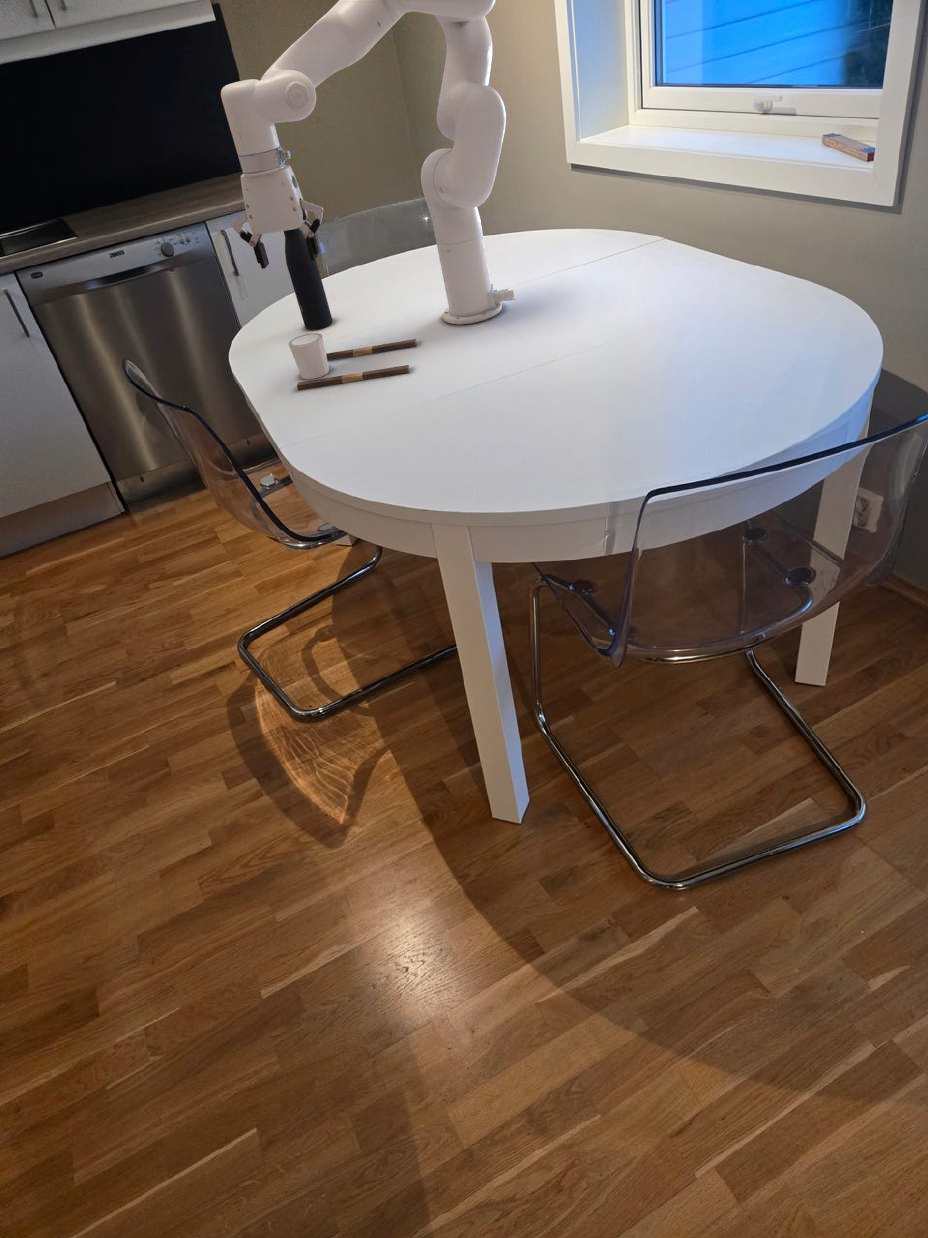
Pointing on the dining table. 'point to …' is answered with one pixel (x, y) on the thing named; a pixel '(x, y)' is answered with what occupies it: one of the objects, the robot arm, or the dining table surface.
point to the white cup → (310, 355)
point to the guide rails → (361, 375)
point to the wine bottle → (306, 282)
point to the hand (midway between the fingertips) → (290, 262)
